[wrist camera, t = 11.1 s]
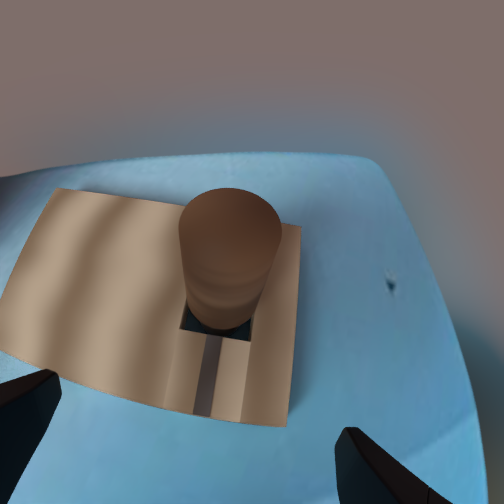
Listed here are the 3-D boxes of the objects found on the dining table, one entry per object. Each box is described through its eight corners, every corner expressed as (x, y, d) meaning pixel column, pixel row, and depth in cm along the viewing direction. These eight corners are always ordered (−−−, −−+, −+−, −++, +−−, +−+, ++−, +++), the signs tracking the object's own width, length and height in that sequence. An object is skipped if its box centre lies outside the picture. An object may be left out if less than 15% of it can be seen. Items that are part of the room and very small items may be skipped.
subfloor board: (293, 244, 27) (301, 226, 24) (277, 427, 18) (286, 426, 16) (64, 205, 26) (56, 187, 24) (2, 351, 18) (-15, 341, 15)
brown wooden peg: (262, 325, 22) (302, 239, 13) (212, 358, 21) (215, 291, 11) (227, 280, 24) (242, 176, 15) (178, 309, 22) (160, 212, 13)
